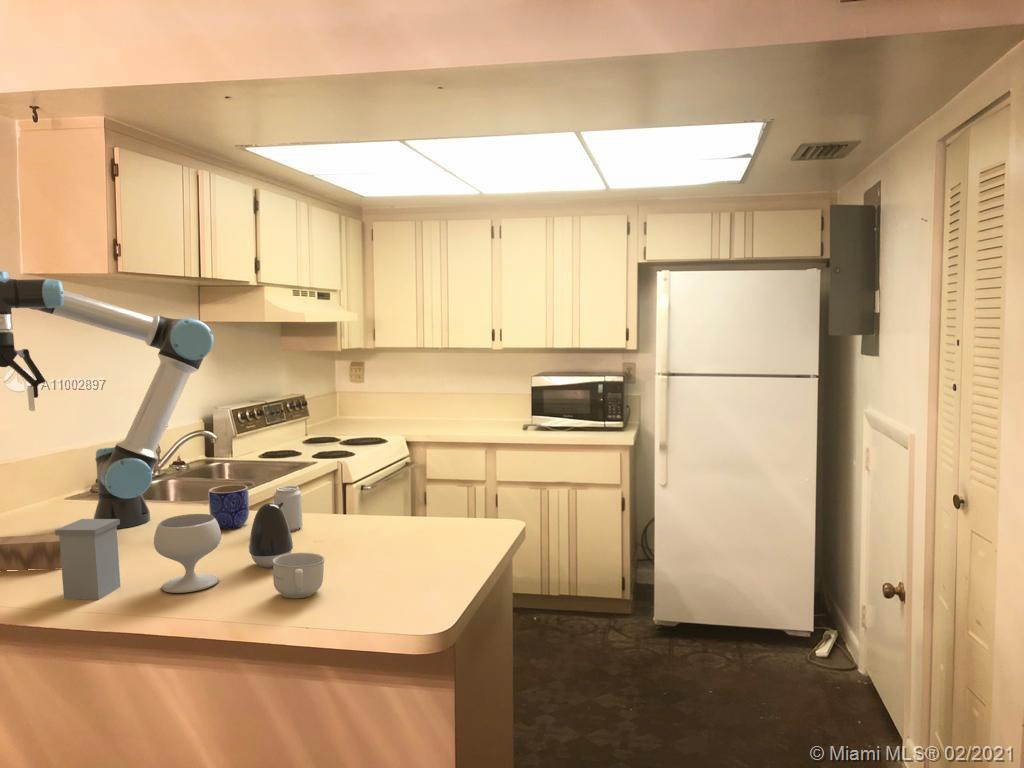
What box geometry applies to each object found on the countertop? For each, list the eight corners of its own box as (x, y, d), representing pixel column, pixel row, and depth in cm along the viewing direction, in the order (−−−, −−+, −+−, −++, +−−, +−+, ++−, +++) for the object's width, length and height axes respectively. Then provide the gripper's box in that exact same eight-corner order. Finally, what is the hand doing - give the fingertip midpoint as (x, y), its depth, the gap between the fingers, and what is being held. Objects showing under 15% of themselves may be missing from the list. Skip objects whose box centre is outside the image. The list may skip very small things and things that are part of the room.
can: (295, 533, 218) (293, 490, 217) (270, 532, 220) (268, 490, 219) (307, 525, 225) (305, 485, 224) (283, 525, 227) (281, 484, 226)
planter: (258, 524, 228) (256, 486, 227) (226, 533, 219) (224, 494, 218) (233, 519, 234) (231, 483, 233) (202, 528, 225) (200, 490, 224)
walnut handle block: (66, 605, 192) (-12, 610, 190) (79, 595, 198) (3, 600, 196) (62, 541, 190) (-17, 545, 188) (74, 533, 197) (-2, 536, 195)
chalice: (196, 571, 186) (193, 509, 185) (236, 580, 179) (233, 516, 178) (143, 589, 174) (139, 524, 173) (184, 600, 167) (179, 531, 166)
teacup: (280, 586, 175) (278, 551, 174) (329, 584, 176) (327, 549, 175) (265, 609, 161) (263, 571, 160) (319, 607, 162) (317, 569, 161)
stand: (60, 599, 169) (55, 529, 168) (86, 585, 178) (81, 518, 176) (99, 600, 168) (94, 530, 167) (123, 586, 177) (119, 519, 176)
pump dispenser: (302, 559, 194) (299, 499, 193) (276, 572, 184) (273, 509, 183) (267, 556, 197) (264, 497, 196) (241, 568, 188) (237, 506, 186)
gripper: (-61, 333, 190) (-54, 419, 192) (54, 330, 208) (59, 409, 209) (-66, 333, 195) (-59, 417, 197) (46, 330, 213) (51, 407, 215)
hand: (2, 413), depth 203 cm, fingers open, 13 cm apart
